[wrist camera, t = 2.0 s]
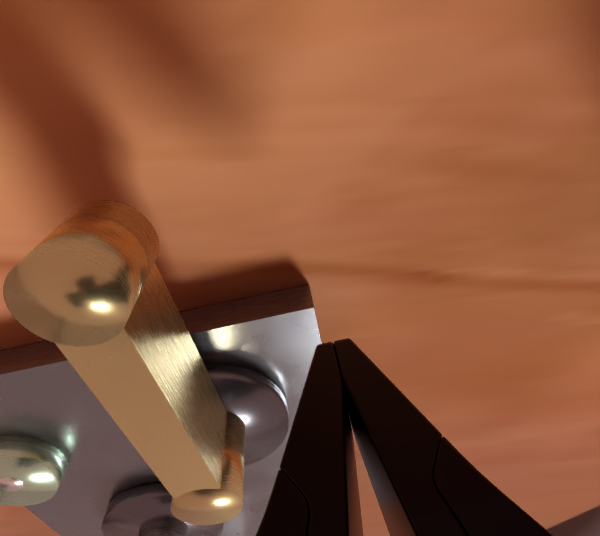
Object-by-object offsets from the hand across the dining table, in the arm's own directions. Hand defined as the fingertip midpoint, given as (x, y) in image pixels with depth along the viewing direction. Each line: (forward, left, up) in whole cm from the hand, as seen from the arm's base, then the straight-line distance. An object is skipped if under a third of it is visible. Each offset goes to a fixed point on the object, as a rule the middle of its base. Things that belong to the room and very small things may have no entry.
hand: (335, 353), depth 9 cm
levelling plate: (+8, +10, -5) cm, 14 cm away
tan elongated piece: (+5, +6, -4) cm, 9 cm away
